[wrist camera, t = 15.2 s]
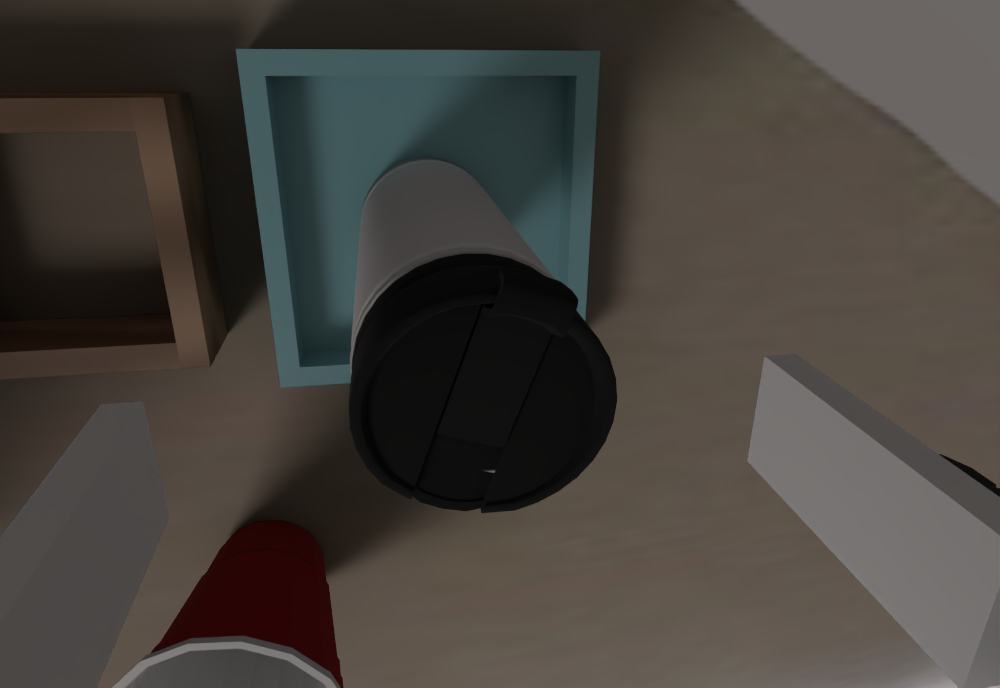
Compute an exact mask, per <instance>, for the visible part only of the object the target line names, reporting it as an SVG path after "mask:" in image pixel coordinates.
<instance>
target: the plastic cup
mask: <svg viewBox="0 0 1000 688" xmlns="http://www.w3.org/2000/svg"><path fill="white" fill-rule="evenodd" d="M112 688H343V678H342V677H341V673H340V661H339V659H338V657H337V651H336V642H335V634H334V626H333V617H332V609H331V600H330V592H329V585H328V583H327V582H326V575H325V567H324V558H323V554H322V552H321V549H320V547H319V545H318V544H317V542H316V541H315V539H314V538H313V536H312V535H311V534H310V533H308V532H307V531H305V530H304V529H302V528H301V527H299V526H298V525H295V524H291V523H287V522H283V521H279V520H273V521H260V522H255V523H253V524H251V525H248V526H246V527H244V528H241V529H239V530H238V531H237V532H236V533H235V534H234V535H233V536H232V537H231V538H230V539H229V540H228V541H227V542H226V543H225V544H224V545H223V546H222V547H221V549H220V550H219V552H218V554H217V555H216V557H215V559H214V561H213V562H212V564H211V566H210V567H209V569H208V571H207V572H206V573H205V574H204V575H203V576H202V577H201V579H200V580H199V582H198V584H197V585H196V587H195V588H194V590H193V591H192V593H191V595H190V596H189V598H188V599H187V601H186V602H185V604H184V606H183V607H182V609H181V610H180V612H179V614H178V615H177V617H176V618H175V620H174V621H173V623H172V625H171V626H170V628H169V629H168V631H167V632H166V634H165V636H164V637H163V639H162V640H161V642H160V643H159V644H158V645H157V646H156V647H155V648H154V649H153V651H152V652H151V653H150V654H148V655H146V656H145V657H144V658H143V659H142V660H141V661H139V662H138V663H137V664H136V665H135V666H134V667H133V668H132V669H131V670H130V671H129V672H128V673H127V674H126V675H124V676H123V677H122V678H121V679H120V680H119V681H118V682H117V683H116V684H115V685H114V686H113V687H112Z"/></svg>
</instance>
